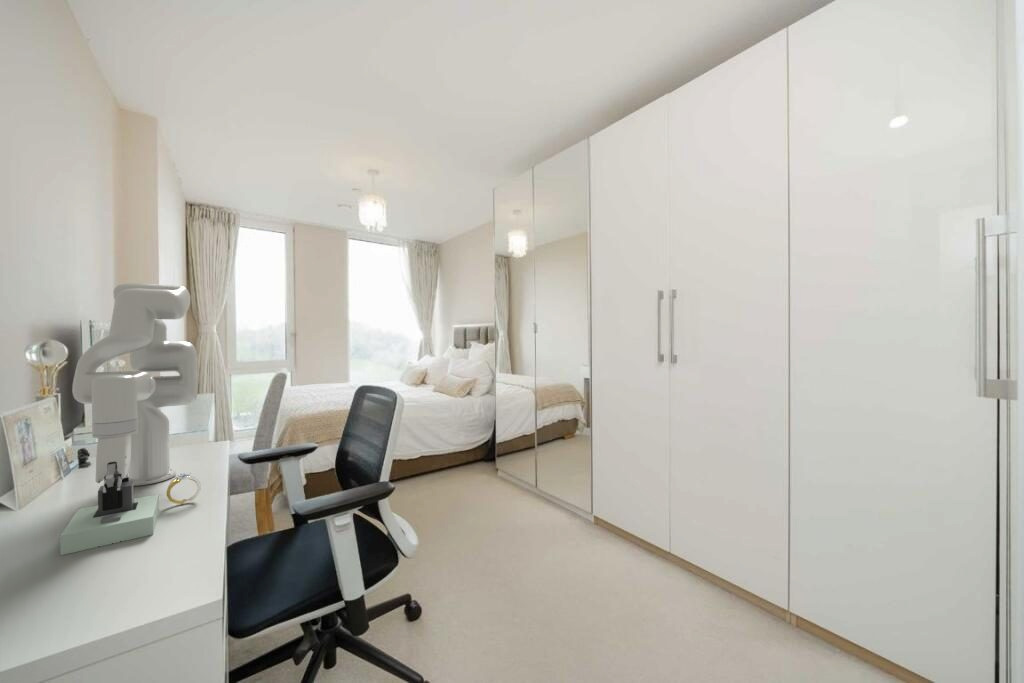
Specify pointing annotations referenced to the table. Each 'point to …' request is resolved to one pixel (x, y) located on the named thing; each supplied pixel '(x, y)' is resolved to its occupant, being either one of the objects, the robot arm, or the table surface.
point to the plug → (127, 500)
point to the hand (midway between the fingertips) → (116, 501)
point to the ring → (177, 480)
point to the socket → (109, 526)
